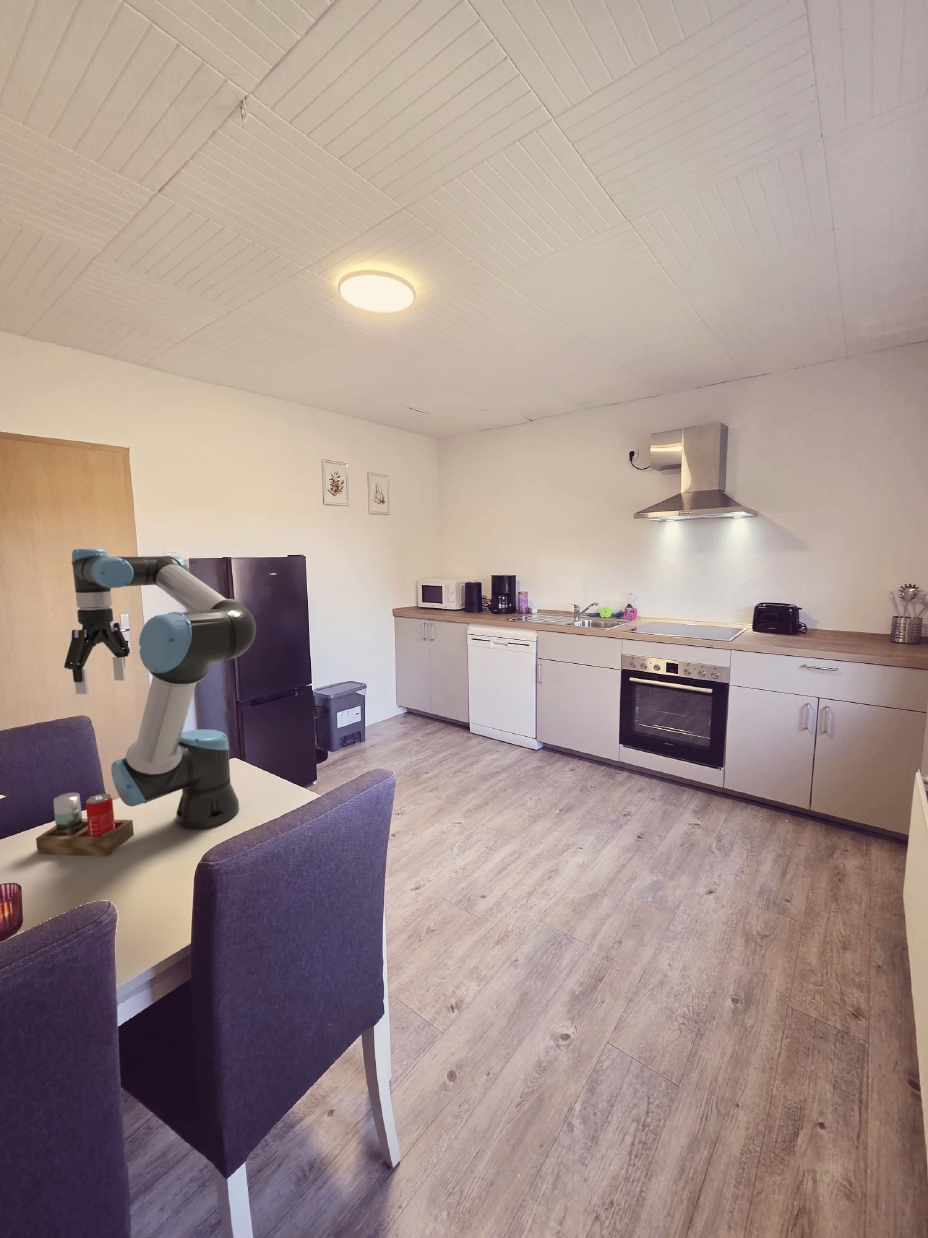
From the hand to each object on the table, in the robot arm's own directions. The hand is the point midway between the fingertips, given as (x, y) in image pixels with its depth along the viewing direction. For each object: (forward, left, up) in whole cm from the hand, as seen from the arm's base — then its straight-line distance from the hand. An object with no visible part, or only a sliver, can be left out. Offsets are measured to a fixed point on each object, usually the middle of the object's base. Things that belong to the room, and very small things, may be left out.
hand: (102, 686), depth 137 cm
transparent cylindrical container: (-2, +17, -35) cm, 39 cm away
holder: (-6, +17, -35) cm, 39 cm away
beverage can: (-10, +17, -35) cm, 40 cm away
